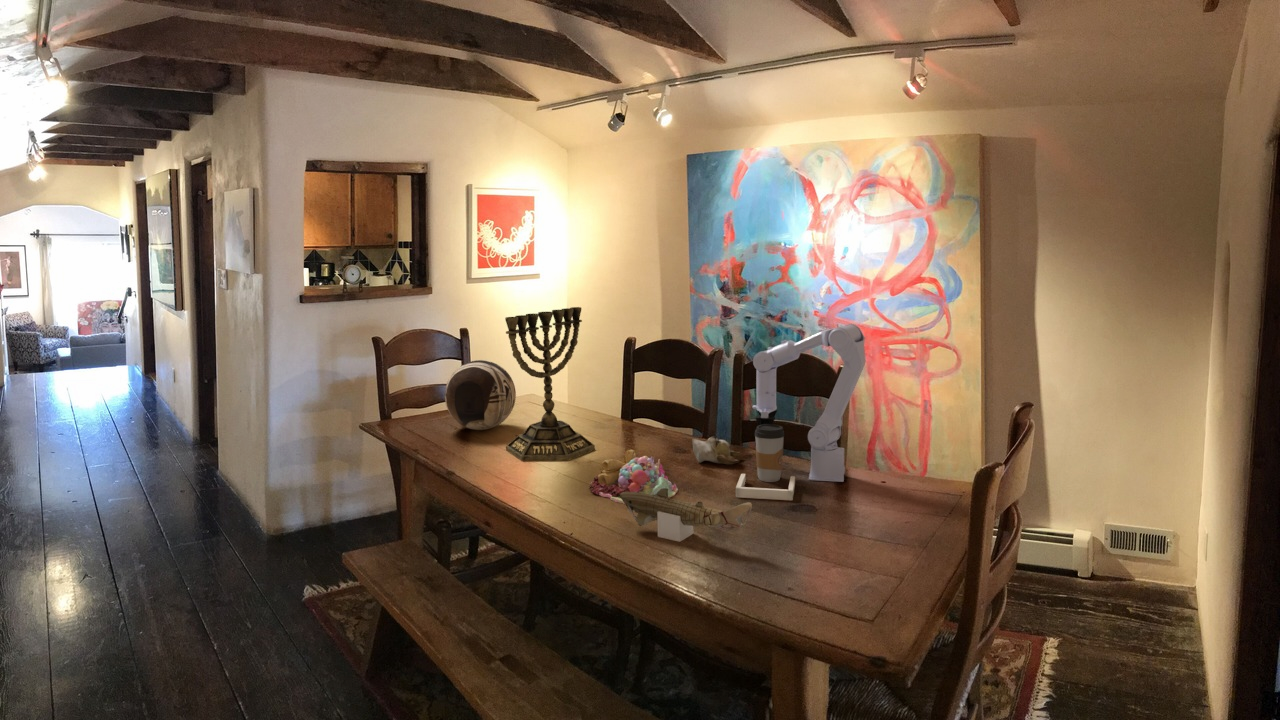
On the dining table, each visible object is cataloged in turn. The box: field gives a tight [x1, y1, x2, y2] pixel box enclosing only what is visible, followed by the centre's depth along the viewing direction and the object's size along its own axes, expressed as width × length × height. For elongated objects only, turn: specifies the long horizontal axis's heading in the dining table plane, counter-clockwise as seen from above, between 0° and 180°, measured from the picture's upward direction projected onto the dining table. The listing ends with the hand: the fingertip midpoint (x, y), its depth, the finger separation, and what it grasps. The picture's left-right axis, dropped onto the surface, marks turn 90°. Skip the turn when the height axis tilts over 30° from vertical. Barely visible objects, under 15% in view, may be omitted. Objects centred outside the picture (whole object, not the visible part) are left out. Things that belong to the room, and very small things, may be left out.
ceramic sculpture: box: [692, 435, 743, 465], centre depth 251 cm, size 11×9×15 cm
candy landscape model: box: [588, 449, 679, 505], centre depth 227 cm, size 25×24×9 cm
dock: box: [735, 473, 796, 501], centre depth 223 cm, size 15×13×2 cm
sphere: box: [444, 359, 517, 431], centre depth 297 cm, size 25×25×25 cm
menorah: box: [505, 306, 596, 462], centre depth 265 cm, size 36×25×45 cm
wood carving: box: [620, 488, 753, 543], centre depth 191 cm, size 9×35×11 cm, turn 55°
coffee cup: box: [754, 424, 785, 483], centre depth 233 cm, size 8×8×15 cm
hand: (766, 436), depth 243 cm, fingers open, 7 cm apart
